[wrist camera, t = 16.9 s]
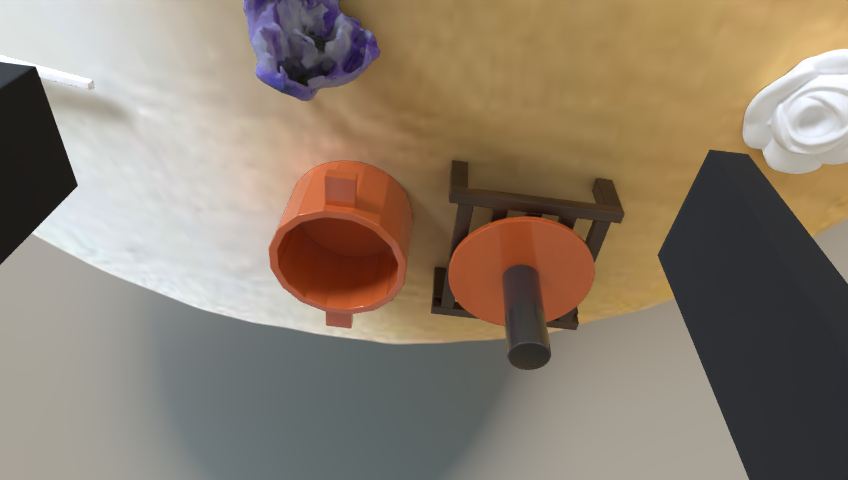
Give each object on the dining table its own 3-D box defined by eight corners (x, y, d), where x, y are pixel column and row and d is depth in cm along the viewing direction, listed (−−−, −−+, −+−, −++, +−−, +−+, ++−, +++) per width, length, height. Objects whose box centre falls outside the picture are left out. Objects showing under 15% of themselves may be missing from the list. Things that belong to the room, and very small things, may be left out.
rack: (433, 277, 57) (431, 313, 53) (452, 160, 48) (450, 192, 44) (568, 293, 57) (576, 330, 53) (612, 179, 48) (625, 213, 44)
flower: (311, 168, 41) (315, 81, 32) (224, 100, 42) (203, -4, 33) (387, 96, 45) (409, 1, 36) (306, 35, 46) (308, -73, 37)
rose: (876, 192, 42) (743, 194, 43) (845, 162, 46) (723, 163, 46) (947, 64, 36) (790, 68, 37) (905, 40, 39) (762, 44, 40)
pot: (295, 271, 57) (276, 325, 51) (286, 125, 47) (261, 173, 41) (405, 284, 57) (398, 340, 52) (421, 141, 47) (415, 191, 41)
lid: (440, 309, 52) (436, 396, 45) (459, 202, 44) (457, 287, 37) (570, 324, 52) (587, 413, 45) (611, 221, 45) (641, 308, 37)
